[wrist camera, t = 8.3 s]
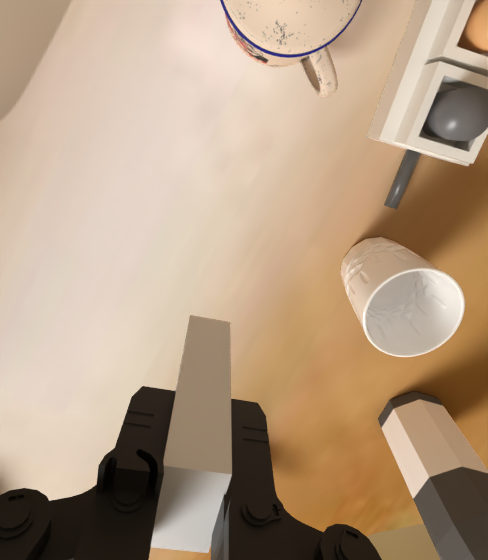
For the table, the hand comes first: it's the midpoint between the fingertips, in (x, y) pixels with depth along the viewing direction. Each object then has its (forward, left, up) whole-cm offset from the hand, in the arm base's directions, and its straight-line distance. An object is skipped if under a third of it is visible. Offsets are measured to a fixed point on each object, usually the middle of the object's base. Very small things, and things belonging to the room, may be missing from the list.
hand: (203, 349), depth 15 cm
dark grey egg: (+15, +12, -20) cm, 28 cm away
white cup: (+16, -2, -24) cm, 29 cm away
